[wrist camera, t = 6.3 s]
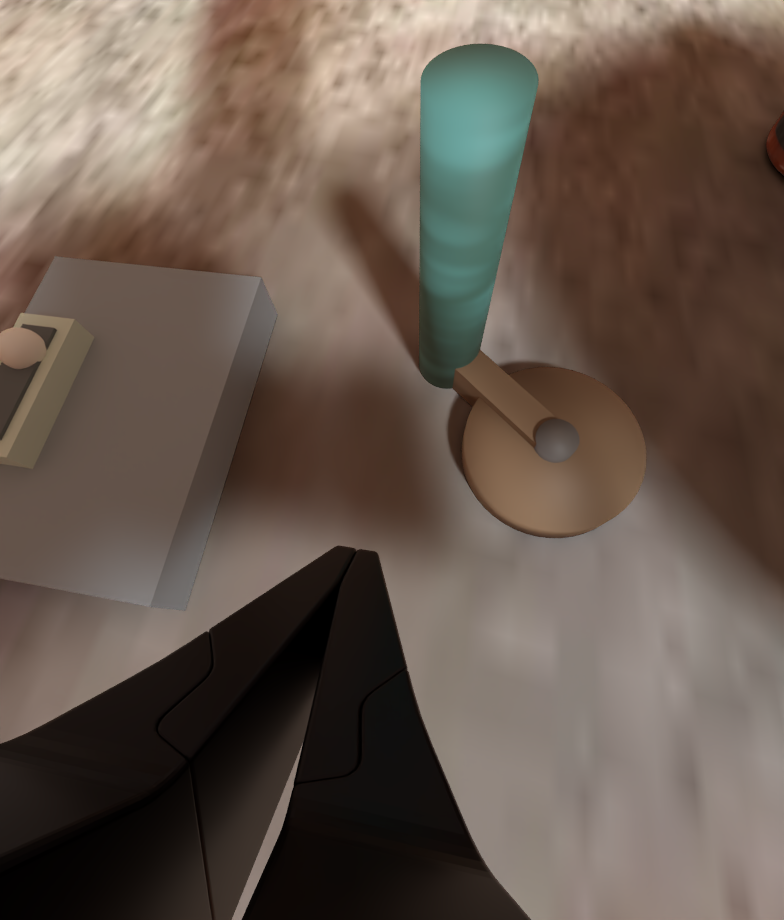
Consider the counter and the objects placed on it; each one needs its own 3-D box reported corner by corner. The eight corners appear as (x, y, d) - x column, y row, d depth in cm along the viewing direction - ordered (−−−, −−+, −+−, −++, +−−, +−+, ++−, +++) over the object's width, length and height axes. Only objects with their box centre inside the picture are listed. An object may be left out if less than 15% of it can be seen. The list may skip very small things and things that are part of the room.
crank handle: (516, 568, 18) (671, 468, 7) (396, 358, 21) (375, 75, 10) (668, 491, 18) (1024, 289, 8) (528, 300, 22) (634, -18, 11)
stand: (185, 610, 18) (105, 602, 13) (-43, 567, 19) (-189, 546, 14) (277, 314, 22) (242, 234, 18) (91, 293, 24) (14, 213, 19)
